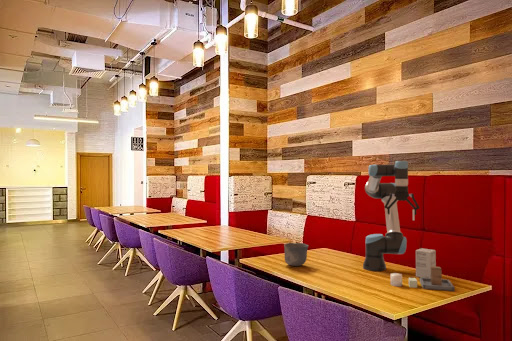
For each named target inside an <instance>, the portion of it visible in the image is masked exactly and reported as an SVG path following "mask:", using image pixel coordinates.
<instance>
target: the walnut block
mask: <svg viewBox="0 0 512 341" xmlns="http://www.w3.org/2000/svg"><path fill="white" fill-rule="evenodd" d="M442 274H443V273H442V268H441V266H436V267H434V266H431V285H439V286H442V279H443V277H442Z"/></svg>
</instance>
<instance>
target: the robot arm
mask: <svg viewBox="0 0 512 341" xmlns="http://www.w3.org/2000/svg"><path fill="white" fill-rule="evenodd" d="M394 162H395V163H394V164H370V165H368V172H367V173H368V176H369V178H368V180H367V182H366V184H365V186H364V191H365V193H366V194H367V195H368V197H370V198H373V199H376V200H377V199H381V202H382V203H383V205H384V212H385V213H384V215H385V225H386V231H387V232H386V233H385V236H384V235H383V234H382V233H373V234H372V233H371V234H369V235H367V236H365V256H364V257H365V258H364V261H363V265H362V269H364V270H367V271H373V272H384V271H386V270H387V265H386V261H385V259H384V254H385V255H386V254H388V255H389V254H390V255H404V254H405V253H406V250H407V242H408V240H407V237H406V236H404V234H403V233H402V231H401V228H400V227H401V226H400V219H399V212H398V201H399V202H401V201H402V202H405V201H406V202H407V204H408V205H410V206H411V207H412V221H415V216H416V215H417V210H418V209H420V208H421V207H420V205H419V204H418V202H417V200H416V198H415V194H414V193H409V186H408V185H409V165H408V164H409V162H408V161H407V160H396V161H394ZM382 177H394V182H381V179H382ZM409 197H410V198H411V199H412V201H413V202H414V204H415V205H414V204H413V203H412V201H410V200H409Z"/></svg>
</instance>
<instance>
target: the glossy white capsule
mask: <svg viewBox="0 0 512 341" xmlns="http://www.w3.org/2000/svg"><path fill="white" fill-rule="evenodd" d="M390 285H391V286H392V287H403V274H402V273H397V272H393V273H390Z"/></svg>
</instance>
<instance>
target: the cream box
mask: <svg viewBox="0 0 512 341" xmlns="http://www.w3.org/2000/svg"><path fill="white" fill-rule="evenodd" d="M408 286H409V288H418V280H417V277H416V278H415V277H408Z"/></svg>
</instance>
